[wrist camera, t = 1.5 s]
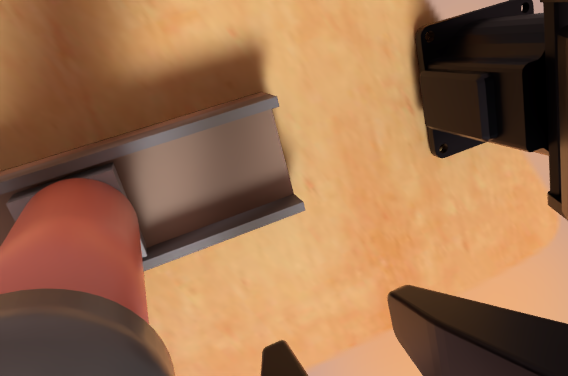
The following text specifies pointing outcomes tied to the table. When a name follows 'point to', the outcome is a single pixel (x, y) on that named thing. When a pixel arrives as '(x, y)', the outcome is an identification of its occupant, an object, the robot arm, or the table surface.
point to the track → (184, 176)
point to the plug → (76, 283)
